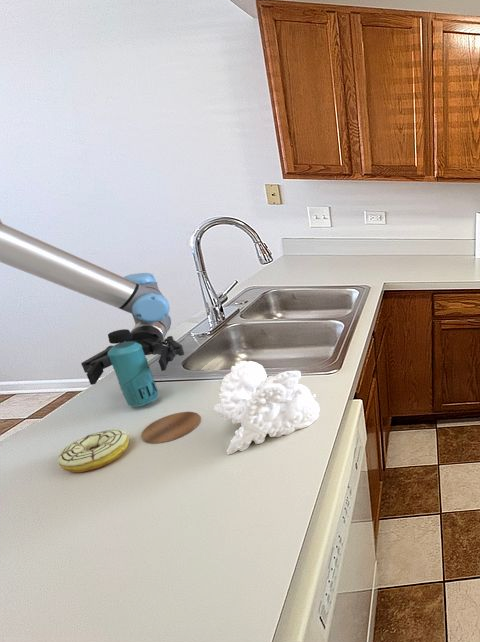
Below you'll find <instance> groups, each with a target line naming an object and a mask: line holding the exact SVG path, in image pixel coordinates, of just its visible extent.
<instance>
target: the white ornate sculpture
mask: <svg viewBox="0 0 480 642" xmlns="http://www.w3.org/2000/svg"><path fill="white" fill-rule="evenodd" d="M230 370H231V371H230V372H228V373H227V374H226V375H224V377H223V379H222V380H221V382H220V387H219V394H217V396H218V399H219V402H218V403H216V404H214V405H213V407H212V408H213V412H215V413H216V415H217V416H219V417H221V418H223V420H224V421H226V422H231V423H232V424H239V423H240V425H241V426H240V427H239V428H238V429H236V430H235V431H234V434H235V435H233V437H232V438H231V439H230V441H229V445H228V448H227V449H226V455H228V456H229V455H232V454H233V455H234V454H235V453H236V452H237V451H240V452H243V451H245V450H247V449H249V447H250V445H251V444H252V442H254V444H257V445H260V444H262V443H264V442H265V440H266V436H267V435H268V436H269V437H270V438H273V437H274V438H280V437H282V436H283V435H285V436H288V435H290V434H292V433H294V432H295V431H298V430H299V429H301V430H302V429H305V428H307V427H309V426H311V425H312V424H313V423H315V421H317V420H318V419H319V417H320V412H321V407H320V404H319V402H317V401H316V397H317V395H316V393H314V394H312V393H311V389H309V388H308V386H306V385H304V384H302V383H299V382H300V380H301V378H302V373H301V371H300V370H285V371H282V372H279V373H277V374H276V375H271V376H267V375H268V374H267V372H266V370H265V368H264V366H263V365H262V364H260V363H258V362H257V361H254V360H253V361H252V360H240V361H239V362H235V364H234V365H231V367H230Z"/></svg>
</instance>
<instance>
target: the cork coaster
mask: <svg viewBox="0 0 480 642" xmlns="http://www.w3.org/2000/svg"><path fill="white" fill-rule="evenodd" d="M201 421H202V418H201V415H200V414H199V413H198V412H194V411H182V412H181V411H180V412H175V413H172V414H169V415H166V416H163V417H161V418H159V419H156V420H155V421H152V423H149V425H147V426H146V427H145V428H144V429H143V430H142V432H141V435H140V438H141V440H142V441H143V442H144V443H146V444H151V445H153V444H154V445H155V444H163V443H168V442H172V441H175V440H177V439H180V438H183V437H184V436H187V435H188V434H190V433H191V432H193V431H194V430H195V429H197V428H198V427H199V425H200V424H201Z"/></svg>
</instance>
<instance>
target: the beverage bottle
mask: <svg viewBox="0 0 480 642" xmlns="http://www.w3.org/2000/svg"><path fill="white" fill-rule="evenodd" d="M130 332H131V331H130V329H128V328H127V329H126V328H124V329H117V330H113V331H111V332H109V333H108V334H107V338H108V342H109V344H113V345H112V346H113V347H112V348H111V349H110V350H109V351H108V356H109V358H110V360H111V363H112V365H111V366H112V368H113V371H114V374H115V375H116V378H117V382H118V385H119V388H120V390H121V393H122V396H123V398H124V401H125V403H126V404H127V405H128V406H129V407H133V408H134V407H141V406H145V405H148V404H151V403H153V402H154V401H155V400H157V399H158V397H159V390H158V386H157V385H156V384H157V383H156V380H155V379H154V376H153V373H152V371H151V366H150V365H149V361H148V358H147V356H146V355H144V352H143V349H142V345H141V344H139V343H136V342H133V341H129V340H131V339H132V338H133V337H132V335H131V333H130ZM126 341H128V342H126Z"/></svg>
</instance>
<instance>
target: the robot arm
mask: <svg viewBox="0 0 480 642" xmlns="http://www.w3.org/2000/svg"><path fill="white" fill-rule="evenodd" d="M0 263H2V264H4V265H6V266H9V267H12V268H14V269H17V270H19V271H22V272H24V273H27V274H29V275H32V276H35V277H37V278H39V279H43V280H45V281H48V282H50V283H53V284H55V285H58V286H60V287H63V288H65V289H68V290H71V291H73V292H76V293H79V294H81V295H84V296H86V297H89V298H91V299H94V300H97V301H99V302H101V303H104V304H107V305H109V306H112V307H114V308H117V309H119V310H121V311H124V312H126V313H129V314H131V315H132V318H133V321H134V324H135V325H134V326H133V328H132V329H131V331H130V333H131V335H132V337H133V338H132V339H131V340H129V341H133V342H136V343H139V344H141V345H142V349H143V352H144V355H145V356H150V355H153V356H156V355H158V356H159V359H158V364H159V367H160V370H161V372H163V371H166V370H167V368H168V364H169V363H170V362H173V361H174V359H175V358H176V356H184V355H185V352H184V347H183V345H182V344H181V343H179V342H177V341H176V340H175V339H174V337H173V335H168V336H167V333H168V332H169V330H170V329H171V325H172V318H171V315H170V314H169V313H170V304H169V300H168V299H167V298H166V296H164V295H163V293H162V292H161V291H160V288H159V285H158V281H157V280H156V277H155V275H154V274H153V273H150V272H137V273H132V274H131V273H130V274H127V275H125V276H121V275H119V274H117V273H115V272H112V271H111V270H108V269H107V268H104V267H101V266H99V265H97V264H95V263H92V262H90V261H88V260H85V259H83V258H81V257H79V256H77V255H75V254H72V253H70V252H67V251H65V250H63V249H61V248H59V247H56V246H54V245H52V244H50V243H47V242H45V241H43V240H40V239H39V238H36V237H34V236H31V235H29V234H27V233H25V232H23V231H22V230H21V231H20V230H18V229H16V228H14V227H11V226H9V225H7V224H4V222H3V221H2V219H1V218H0ZM166 336H167V337H166ZM126 342H128V341H126ZM113 346H114V345H108V346H107V347H106V348H105V349H103V350H102V351H100V352H98V353H96V354H95V355H93V356H91V357H89V358H88V359H86V360H84V361H82V362H81V363H80V364H81V366H82V368H83V372H84V373H86V376H87V379H88V382H89V384H90V385H91V386H92V385H96V384H97V382H98V381H99V379H100V378H101V376H102V374H103V373H104V370H105V369H107V368H109V367H111V366H113V365H112V363H111V360H110V358H109V356H108V351H109V350H110V349H111V348H112V347H113Z"/></svg>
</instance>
